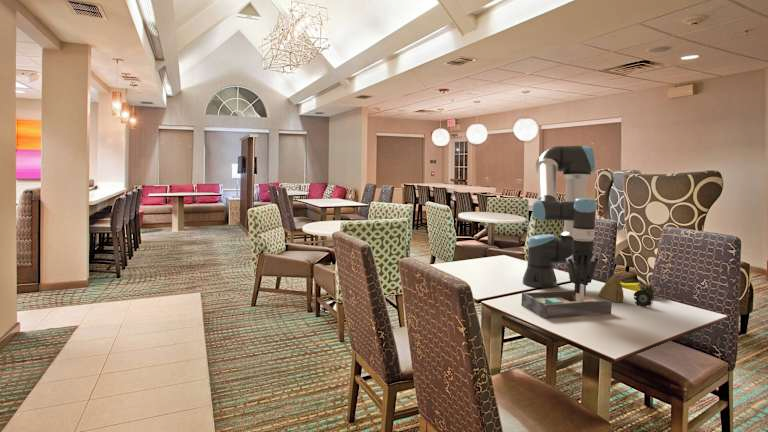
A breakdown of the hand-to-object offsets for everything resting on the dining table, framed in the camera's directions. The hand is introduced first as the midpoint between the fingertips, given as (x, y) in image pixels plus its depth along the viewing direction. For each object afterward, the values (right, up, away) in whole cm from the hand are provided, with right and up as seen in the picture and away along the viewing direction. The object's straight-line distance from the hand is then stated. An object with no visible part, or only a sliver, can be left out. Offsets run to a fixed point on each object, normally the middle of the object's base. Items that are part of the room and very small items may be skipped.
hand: (579, 301), depth 170 cm
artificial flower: (+35, -3, +17) cm, 39 cm away
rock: (+21, -3, +18) cm, 28 cm away
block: (-9, -2, -2) cm, 9 cm away
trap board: (-4, -4, +3) cm, 6 cm away
